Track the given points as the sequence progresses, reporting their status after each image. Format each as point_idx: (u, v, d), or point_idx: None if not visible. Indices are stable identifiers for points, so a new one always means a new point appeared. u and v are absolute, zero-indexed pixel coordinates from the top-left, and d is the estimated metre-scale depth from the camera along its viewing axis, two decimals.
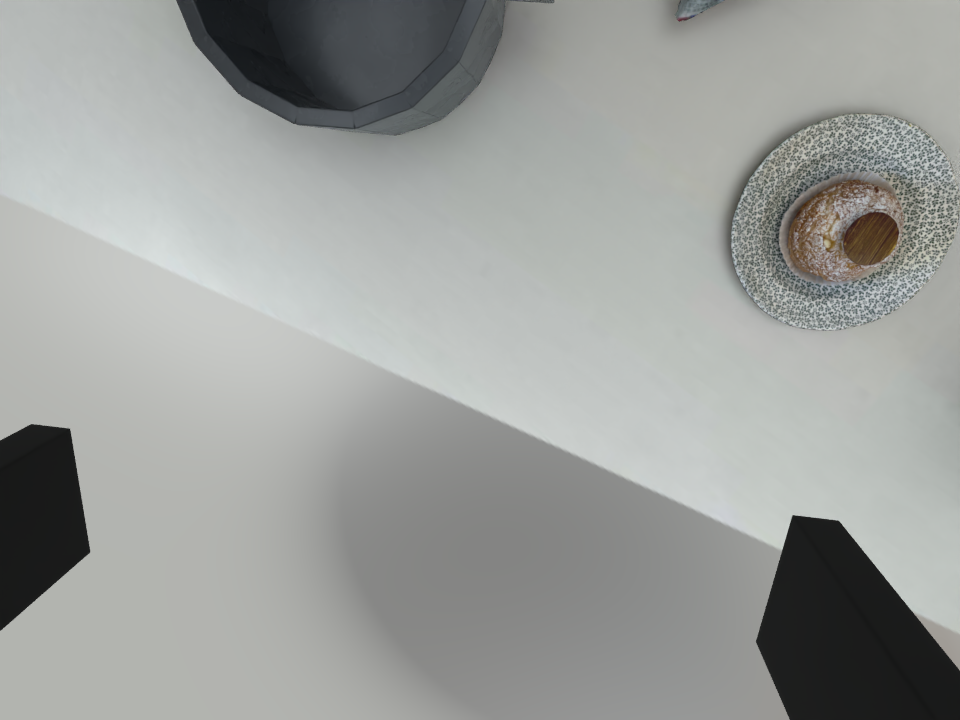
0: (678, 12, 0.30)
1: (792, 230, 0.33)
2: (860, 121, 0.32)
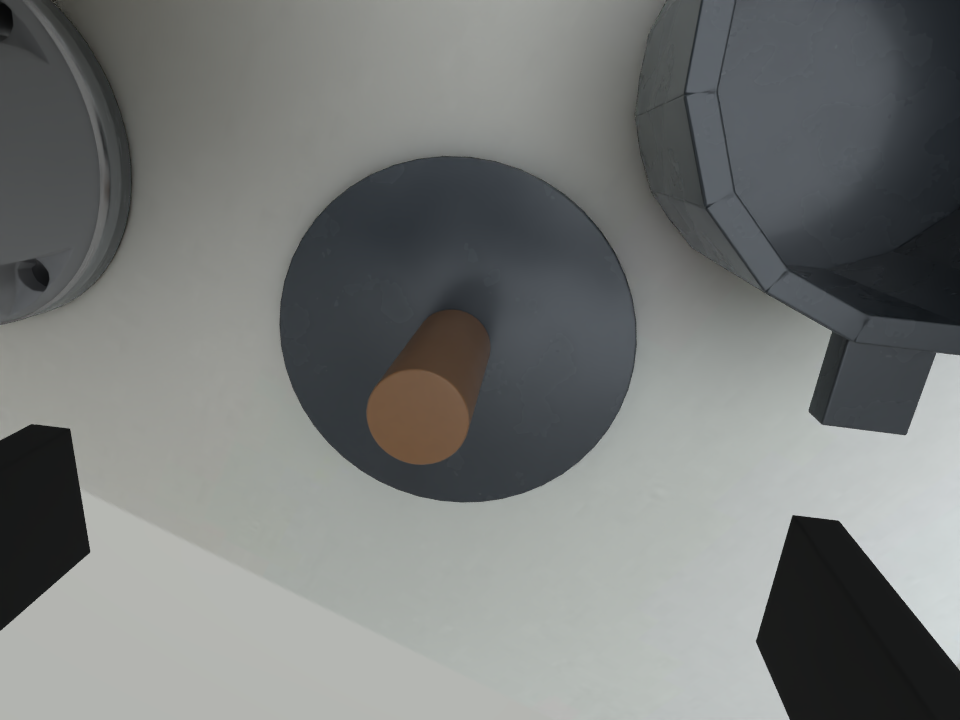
0: None
1: None
2: None
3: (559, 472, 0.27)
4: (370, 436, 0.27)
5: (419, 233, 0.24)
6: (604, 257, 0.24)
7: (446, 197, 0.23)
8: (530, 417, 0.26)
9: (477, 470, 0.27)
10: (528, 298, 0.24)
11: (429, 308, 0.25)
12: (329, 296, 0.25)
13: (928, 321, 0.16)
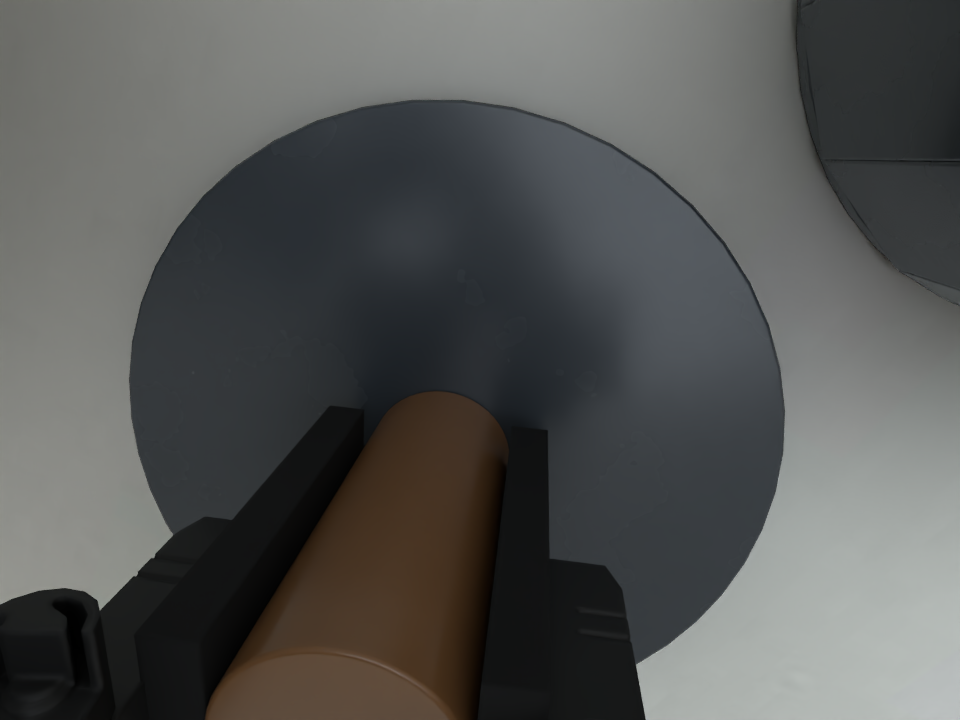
0: None
1: None
2: None
3: None
4: None
5: (371, 252, 0.13)
6: (730, 293, 0.12)
7: (421, 182, 0.12)
8: None
9: None
10: (580, 370, 0.13)
11: (397, 388, 0.14)
12: (214, 368, 0.14)
13: None
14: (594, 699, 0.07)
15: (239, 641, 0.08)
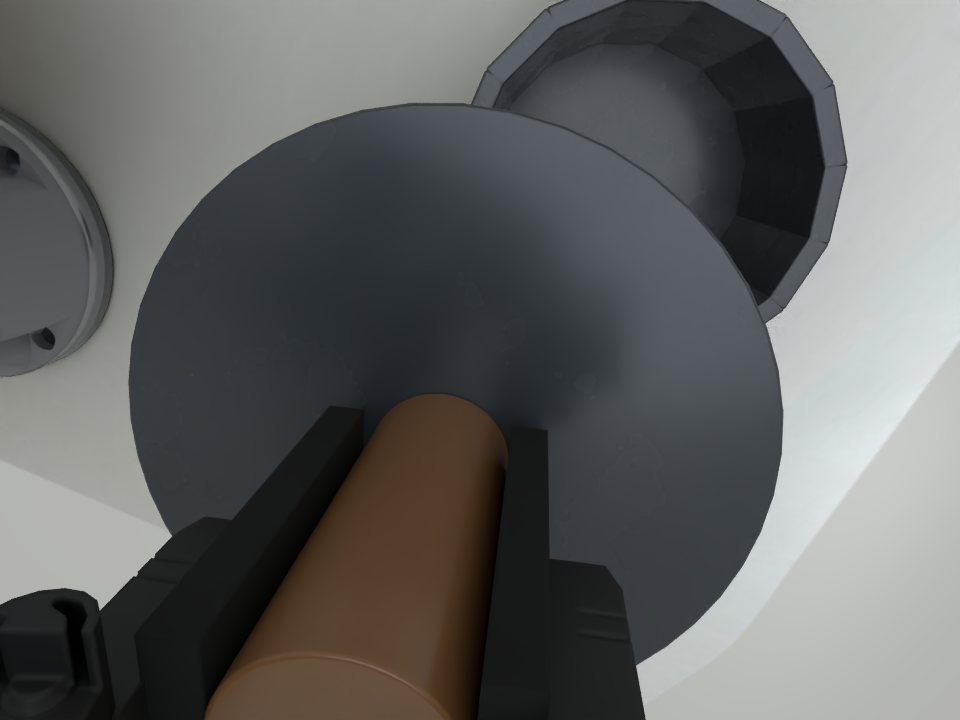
0: None
1: None
2: None
3: None
4: None
5: (370, 255, 0.13)
6: (728, 295, 0.12)
7: (419, 185, 0.12)
8: None
9: None
10: (579, 372, 0.13)
11: (396, 391, 0.14)
12: (213, 371, 0.14)
13: None
14: (594, 699, 0.07)
15: (239, 641, 0.08)
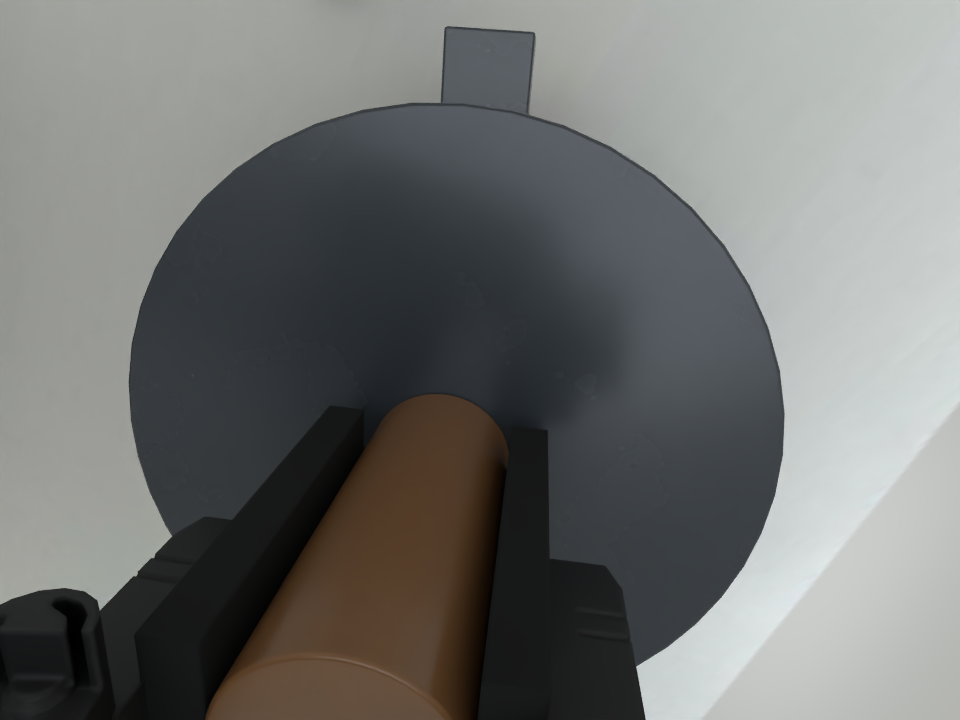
0: None
1: None
2: None
3: None
4: None
5: (371, 255, 0.13)
6: (729, 295, 0.12)
7: (421, 185, 0.12)
8: None
9: None
10: (580, 373, 0.13)
11: (397, 391, 0.14)
12: (213, 371, 0.14)
13: None
14: (594, 698, 0.07)
15: (239, 641, 0.08)
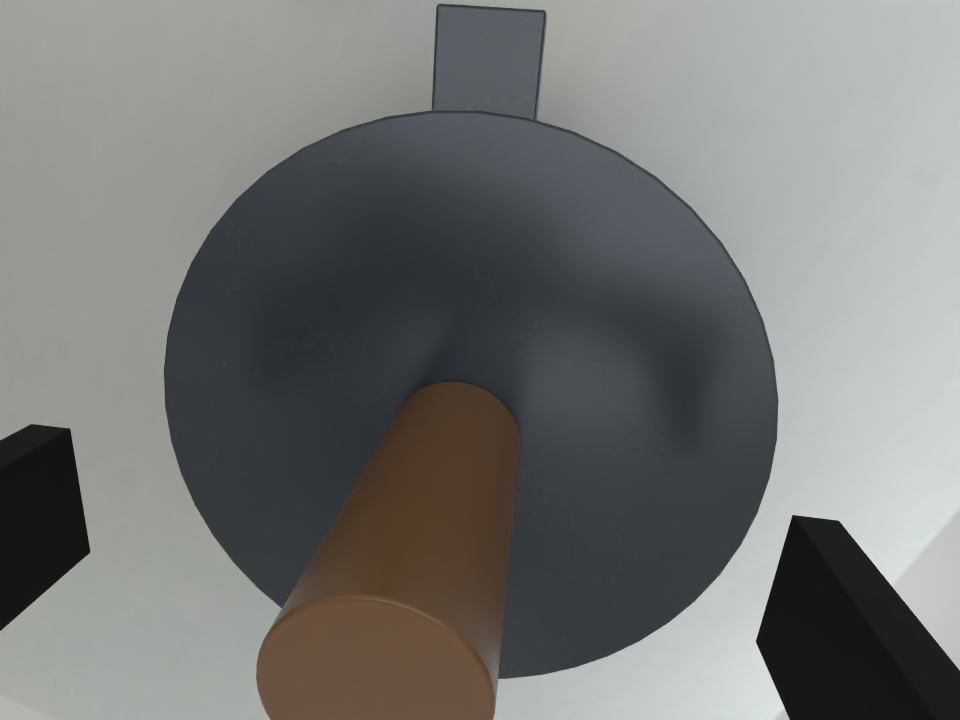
0: None
1: None
2: None
3: (635, 639, 0.16)
4: None
5: (393, 251, 0.14)
6: (726, 289, 0.13)
7: (439, 186, 0.13)
8: (587, 554, 0.16)
9: None
10: (586, 362, 0.14)
11: (415, 379, 0.14)
12: (243, 360, 0.15)
13: None
14: None
15: None
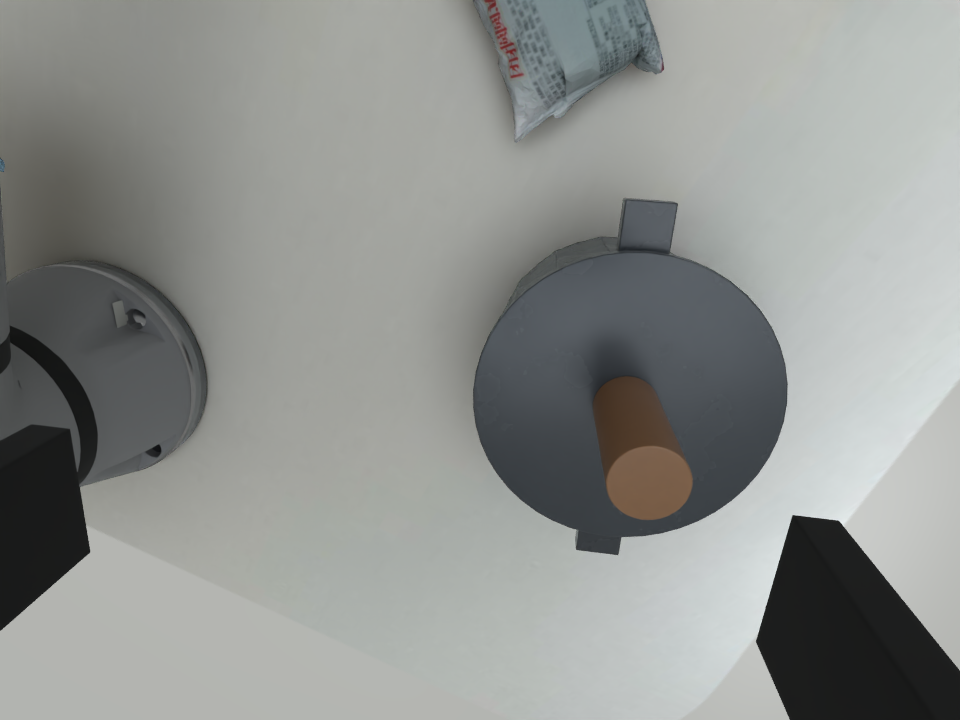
0: (655, 71, 0.31)
1: None
2: None
3: (713, 510, 0.31)
4: (546, 482, 0.32)
5: (602, 314, 0.28)
6: (763, 332, 0.28)
7: (628, 285, 0.28)
8: (690, 464, 0.30)
9: None
10: (694, 366, 0.29)
11: (607, 375, 0.29)
12: (519, 366, 0.30)
13: None
14: None
15: None
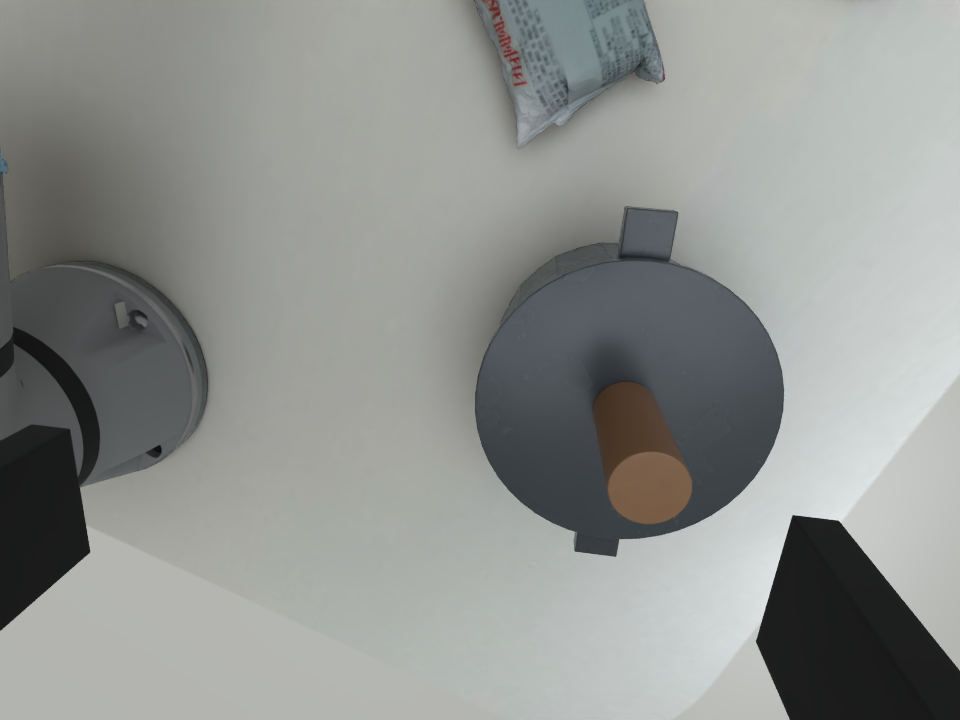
0: (656, 80, 0.32)
1: None
2: None
3: (710, 513, 0.32)
4: (546, 485, 0.32)
5: (603, 320, 0.29)
6: (760, 339, 0.28)
7: (629, 292, 0.28)
8: (687, 468, 0.31)
9: None
10: (693, 372, 0.29)
11: (607, 380, 0.30)
12: (521, 371, 0.30)
13: None
14: None
15: None
